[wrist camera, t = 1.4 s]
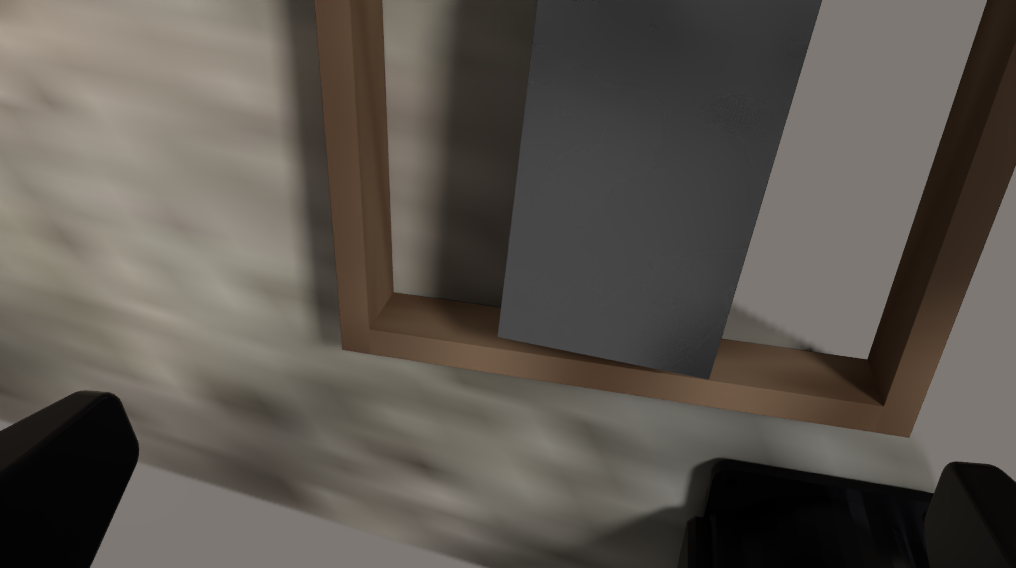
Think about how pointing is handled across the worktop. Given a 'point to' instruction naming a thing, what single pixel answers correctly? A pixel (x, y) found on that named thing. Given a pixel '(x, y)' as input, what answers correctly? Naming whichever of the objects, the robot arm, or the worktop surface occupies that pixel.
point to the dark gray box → (646, 171)
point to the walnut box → (738, 365)
